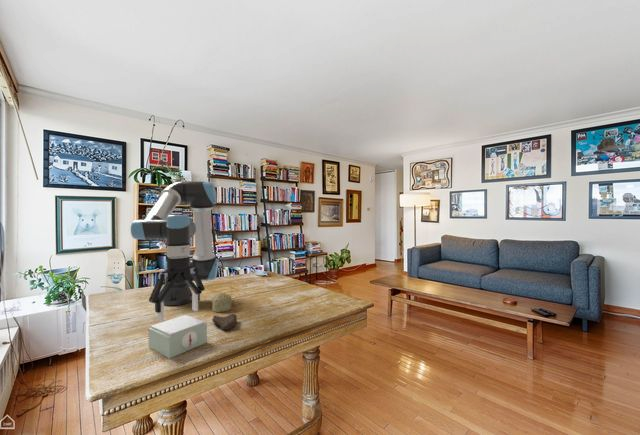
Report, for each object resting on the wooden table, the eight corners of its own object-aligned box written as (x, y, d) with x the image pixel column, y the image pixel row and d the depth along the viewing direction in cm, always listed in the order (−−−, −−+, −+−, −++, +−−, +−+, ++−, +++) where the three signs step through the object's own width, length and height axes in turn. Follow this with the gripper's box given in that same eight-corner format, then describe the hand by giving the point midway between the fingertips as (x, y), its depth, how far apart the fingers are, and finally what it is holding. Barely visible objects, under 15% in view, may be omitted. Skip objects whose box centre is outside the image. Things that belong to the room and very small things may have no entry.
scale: (148, 347, 100) (148, 325, 99) (185, 333, 111) (185, 314, 111) (170, 359, 91) (170, 335, 91) (208, 342, 103) (208, 322, 103)
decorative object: (232, 316, 138) (238, 297, 144) (220, 310, 131) (227, 290, 136) (216, 316, 141) (223, 297, 147) (204, 309, 133) (212, 289, 139)
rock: (212, 322, 122) (212, 314, 122) (236, 320, 125) (237, 312, 125) (209, 332, 111) (209, 323, 111) (236, 330, 114) (236, 321, 114)
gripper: (147, 262, 89) (148, 329, 89) (213, 253, 109) (214, 307, 109) (136, 260, 93) (137, 324, 93) (202, 252, 113) (202, 304, 113)
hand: (178, 315), depth 101 cm, fingers open, 12 cm apart
